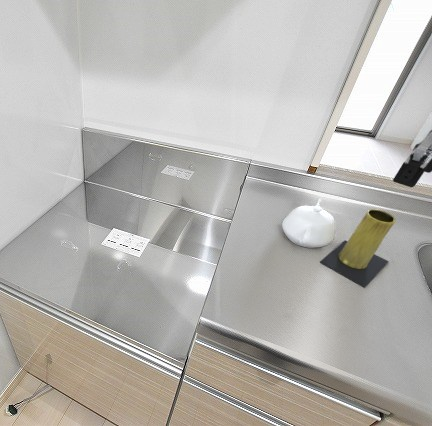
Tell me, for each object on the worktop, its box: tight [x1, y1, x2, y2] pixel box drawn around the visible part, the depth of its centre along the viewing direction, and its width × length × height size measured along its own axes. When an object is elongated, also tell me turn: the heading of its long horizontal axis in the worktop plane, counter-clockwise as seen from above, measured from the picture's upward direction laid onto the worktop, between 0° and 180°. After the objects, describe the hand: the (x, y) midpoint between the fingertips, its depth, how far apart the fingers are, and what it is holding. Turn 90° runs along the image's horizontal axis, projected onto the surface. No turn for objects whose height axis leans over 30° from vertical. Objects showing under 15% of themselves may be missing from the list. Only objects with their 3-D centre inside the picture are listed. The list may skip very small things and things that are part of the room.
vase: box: [338, 208, 397, 269], centre depth 70 cm, size 6×6×14 cm
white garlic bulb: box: [281, 197, 336, 249], centre depth 80 cm, size 20×12×10 cm, turn 142°
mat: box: [319, 239, 389, 289], centre depth 74 cm, size 10×14×1 cm
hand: (411, 176), depth 58 cm, fingers open, 9 cm apart
